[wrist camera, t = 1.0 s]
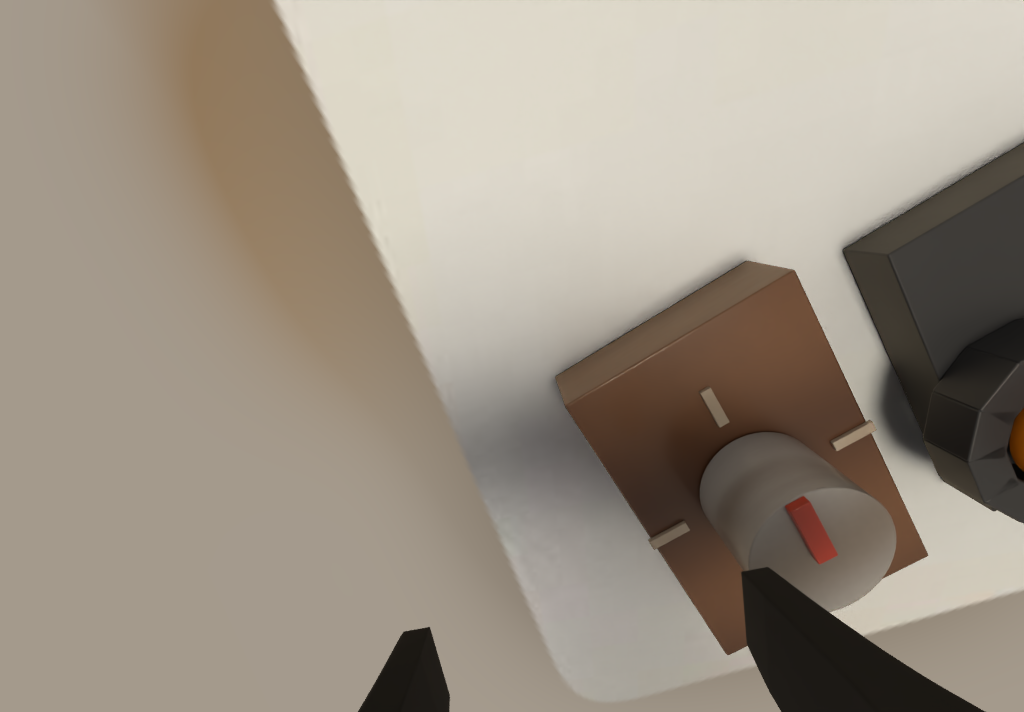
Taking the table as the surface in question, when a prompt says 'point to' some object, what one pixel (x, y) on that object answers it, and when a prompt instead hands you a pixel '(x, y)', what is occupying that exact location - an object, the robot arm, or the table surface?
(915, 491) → the table surface
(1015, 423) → the switch button
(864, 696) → the robot arm
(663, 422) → the dimmer panel
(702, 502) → the dial
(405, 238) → the table surface
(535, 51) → the table surface
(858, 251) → the switch block
